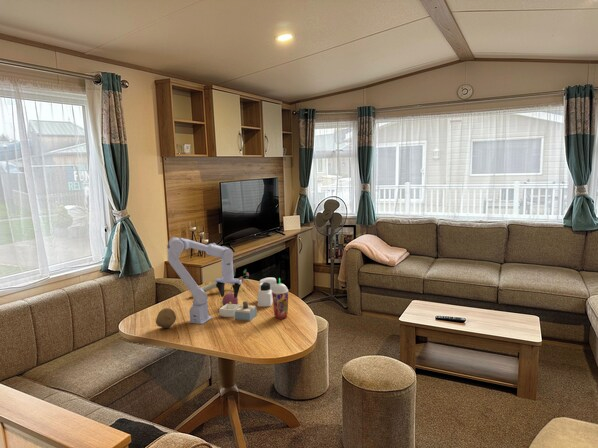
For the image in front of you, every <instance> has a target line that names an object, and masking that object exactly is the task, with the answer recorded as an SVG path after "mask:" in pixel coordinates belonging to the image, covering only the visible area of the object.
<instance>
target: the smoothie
mask: <svg viewBox="0 0 598 448" xmlns="http://www.w3.org/2000/svg"><path fill="white" fill-rule="evenodd" d="M272 298H273V303H272V304H273V313H274V316H275V318H276V319H278V320H280V319H286V318H287V317H288V315H289V289H288V287H287V286H286V285H285V284H284V283H282V282H281V278H280V277H279V278H278V283H277V284H276V285H275V286H274V287H273V289H272Z"/></svg>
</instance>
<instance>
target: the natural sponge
mask: <svg viewBox="0 0 598 448" xmlns="http://www.w3.org/2000/svg"><path fill="white" fill-rule="evenodd" d="M176 321H177V315H176V313H175V311H174V310H173V309H172V308H169V307H167V308H166V307H165V308H162V309H160V311H159V312H158V313H157V316H156V318H155V324H156V326H158V327H159V328H162V329H165V328H168V329H169V327H170V328H171V327H172V326H173V325H174V323H175V322H176Z"/></svg>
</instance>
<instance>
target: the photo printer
mask: <svg viewBox="0 0 598 448" xmlns="http://www.w3.org/2000/svg"><path fill="white" fill-rule="evenodd" d="M263 282H267V283H270V290H272V289H273V287H274V286H275V285H276V284H278V283H277V279H276V278H275V277H265V278H262V279H260V280H259V281H258V285H259V284H260V283H263Z"/></svg>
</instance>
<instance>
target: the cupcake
mask: <svg viewBox="0 0 598 448" xmlns="http://www.w3.org/2000/svg"><path fill="white" fill-rule="evenodd" d="M238 301H239V300H238V297H237V298H234V292H229V293H226V294H224V296H223V297H222V300H221V303H222V307H223V306H224V305H226V304H236V305H238V304H239V303H238Z"/></svg>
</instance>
